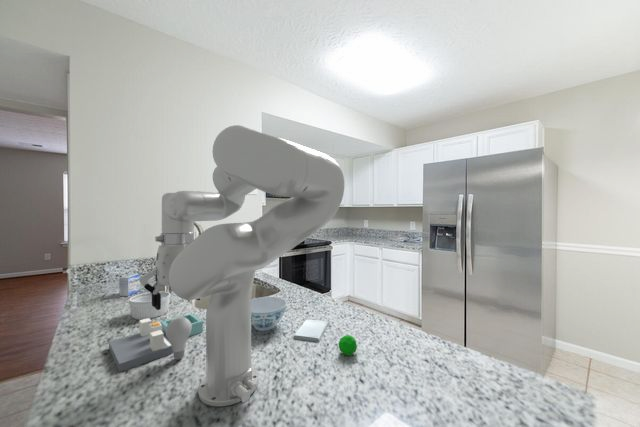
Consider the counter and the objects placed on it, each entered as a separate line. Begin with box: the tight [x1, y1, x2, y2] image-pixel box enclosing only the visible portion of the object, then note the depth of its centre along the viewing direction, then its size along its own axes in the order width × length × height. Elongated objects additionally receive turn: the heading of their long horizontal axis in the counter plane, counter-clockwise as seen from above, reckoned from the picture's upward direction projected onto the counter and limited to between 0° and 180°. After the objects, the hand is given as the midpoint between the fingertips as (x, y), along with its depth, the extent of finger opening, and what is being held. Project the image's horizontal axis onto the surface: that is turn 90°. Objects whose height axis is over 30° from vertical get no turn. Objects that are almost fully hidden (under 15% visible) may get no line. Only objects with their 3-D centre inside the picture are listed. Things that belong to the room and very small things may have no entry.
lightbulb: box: [166, 316, 192, 361], centre depth 69 cm, size 6×6×11 cm
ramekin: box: [128, 290, 171, 320], centre depth 99 cm, size 13×13×7 cm
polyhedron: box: [338, 334, 358, 356], centre depth 71 cm, size 5×5×5 cm
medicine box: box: [118, 273, 141, 297], centre depth 124 cm, size 8×4×9 cm, turn 179°
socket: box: [160, 313, 204, 339], centre depth 84 cm, size 10×10×4 cm
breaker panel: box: [108, 318, 173, 373], centre depth 73 cm, size 16×12×6 cm
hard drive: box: [293, 318, 329, 343], centre depth 85 cm, size 2×8×12 cm
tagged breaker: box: [149, 321, 162, 338], centre depth 76 cm, size 3×2×4 cm
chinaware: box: [251, 296, 288, 332], centre depth 88 cm, size 15×15×8 cm
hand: (178, 303), depth 69 cm, fingers open, 9 cm apart
